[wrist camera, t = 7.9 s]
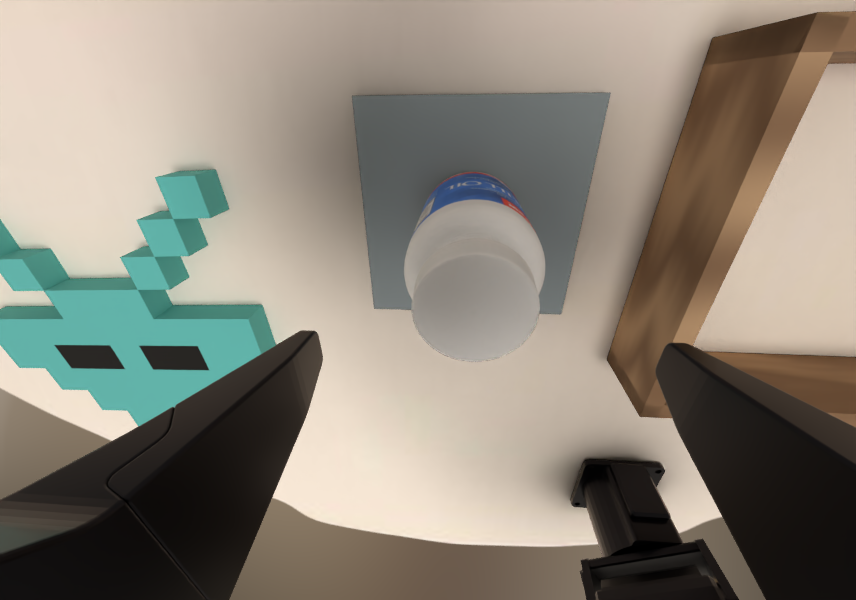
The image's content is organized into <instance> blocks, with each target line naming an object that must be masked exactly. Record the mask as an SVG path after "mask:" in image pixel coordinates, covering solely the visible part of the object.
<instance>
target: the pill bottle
mask: <svg viewBox="0 0 856 600" xmlns="http://www.w3.org/2000/svg"><path fill="white" fill-rule="evenodd" d="M404 277H405V283H406V287H407V290H408V293H409V295H410V297H411V299H412V316H413V321H414V323H415V326H416V328H417V330H418V332H419V334H420V335H421V337H422V338H423V339H424V340H425V341H426V342H427V343H428V344H429V345H430V346H431V347H432V348H433V349H435V350H436V351H438V352H439V353H441V354H443V355H445V356H448V357H450V358H453V359H457V360H462V361H469V362H481V361H488V360H493V359H497V358H500V357H502V356H504V355H507V354H509V353H511V352H512V351H514V350H515V349H517V348H518V347H519V346H521V345H522V344H523V343H524V342H525V341H526V340H527V339H528V337H529V336H530V335H531V333H532V332H533V330H534V328H535V326H536V323H537V320H538V317H539V310H540V302H539V293H540V291H541V288H542V286H543V282H544V278H545V256H544V252H543V249H542V245H541V243H540V241H539V238H538V236H537V234H536V232H535V230H534V229H533V227H532V225H531V223H530V222H529V220H528V218H527V216H526V215H525V213H524V211H523V209H522V208H521V206H520V204H519V202H518V200H517V198H516V196H515V195H514V193H513V192H512V191H511V190H510V188H509V187H508V186H507V185H506V184H504V183H503V182H502V181H501V180H499V179H497V178H496V177H494V176H492V175H489V174H486V173H481V172H465V173H460V174H457V175H454V176H452V177H450V178H448V179H446V180H445V181H443V182H442V183H441V184H439V185H438V186H437V187H436V188H435V189H434V190H433V192H432V193H431V194H430V196H429V197H428V199H427V201H426V203H425V205H424V207H423V210H422V213H421V215H420V218H419V220H418V223H417V225H416V228H415V230H414V233H413V235H412V237H411V240H410V243H409V246H408V249H407V252H406V257H405V263H404Z"/></svg>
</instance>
